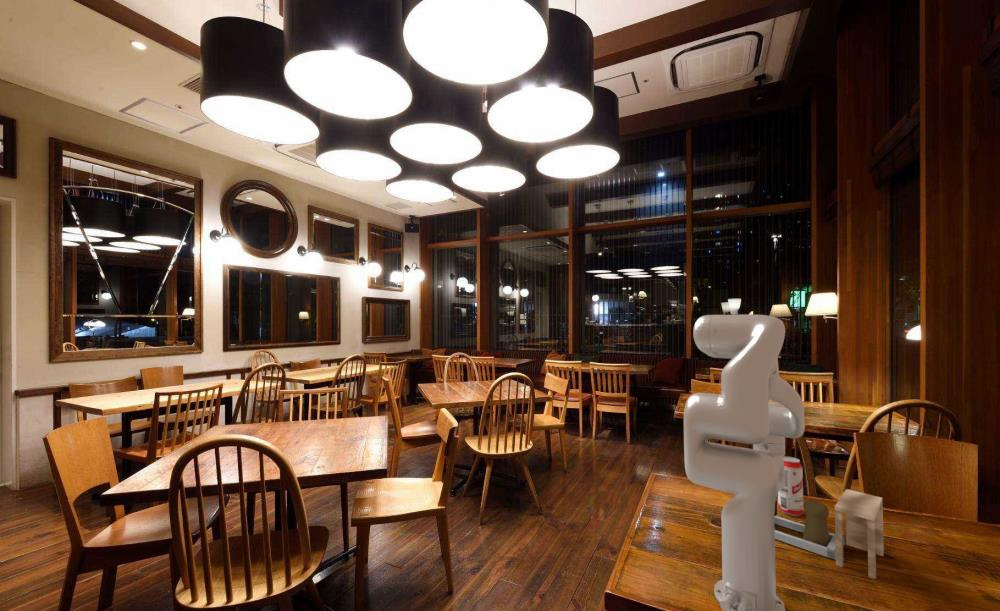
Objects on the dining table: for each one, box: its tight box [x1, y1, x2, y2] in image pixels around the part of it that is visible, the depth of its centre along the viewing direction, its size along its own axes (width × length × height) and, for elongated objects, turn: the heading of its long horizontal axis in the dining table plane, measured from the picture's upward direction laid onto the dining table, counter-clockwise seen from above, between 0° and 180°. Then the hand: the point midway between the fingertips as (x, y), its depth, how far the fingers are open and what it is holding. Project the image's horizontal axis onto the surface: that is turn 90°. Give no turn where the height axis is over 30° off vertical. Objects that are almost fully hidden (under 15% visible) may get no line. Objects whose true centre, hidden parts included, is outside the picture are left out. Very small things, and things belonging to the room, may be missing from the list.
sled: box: [774, 515, 846, 561], centre depth 111 cm, size 21×10×6 cm, turn 42°
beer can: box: [777, 455, 804, 517], centre depth 125 cm, size 6×6×16 cm
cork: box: [802, 500, 830, 547], centre depth 107 cm, size 6×6×11 cm
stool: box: [834, 488, 885, 580], centre depth 101 cm, size 7×14×14 cm, turn 132°
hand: (769, 513), depth 114 cm, fingers closed
